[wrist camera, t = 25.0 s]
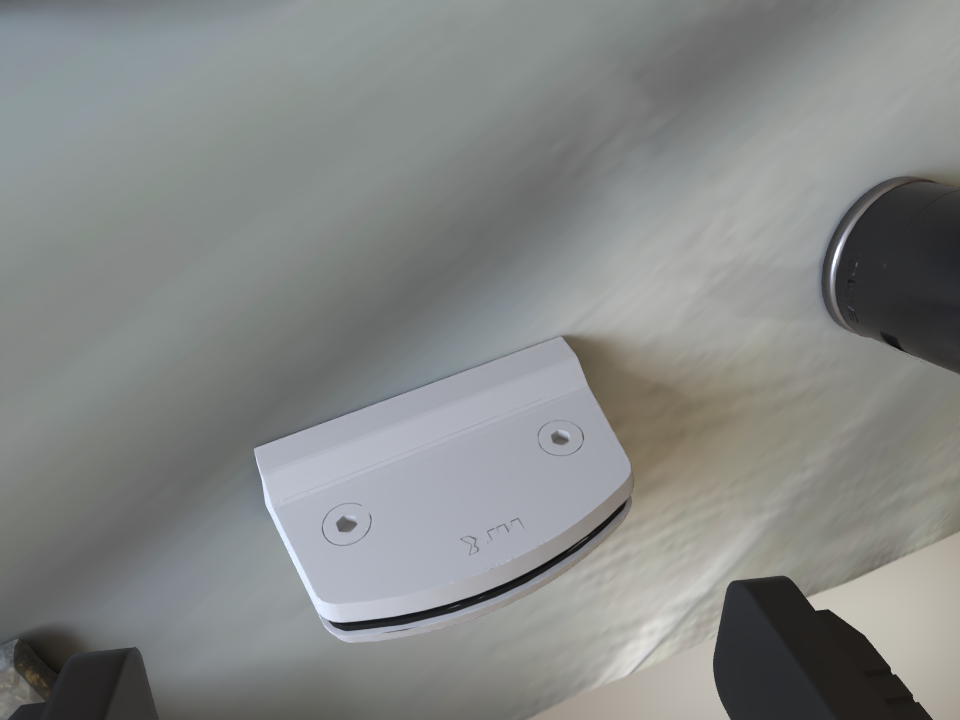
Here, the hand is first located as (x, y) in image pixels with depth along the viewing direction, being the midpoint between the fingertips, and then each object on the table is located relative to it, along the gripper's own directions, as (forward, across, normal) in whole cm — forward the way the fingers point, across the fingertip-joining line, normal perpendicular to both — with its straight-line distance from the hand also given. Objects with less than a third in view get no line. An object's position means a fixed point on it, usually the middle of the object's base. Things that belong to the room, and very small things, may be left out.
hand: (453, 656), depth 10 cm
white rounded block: (+25, +2, -12) cm, 28 cm away
